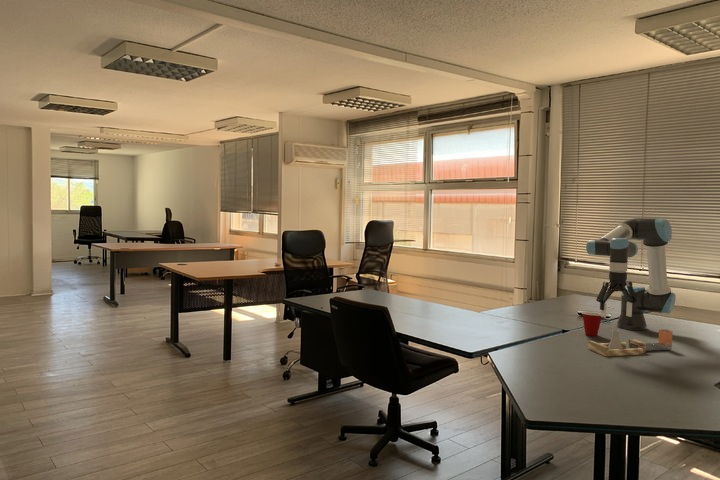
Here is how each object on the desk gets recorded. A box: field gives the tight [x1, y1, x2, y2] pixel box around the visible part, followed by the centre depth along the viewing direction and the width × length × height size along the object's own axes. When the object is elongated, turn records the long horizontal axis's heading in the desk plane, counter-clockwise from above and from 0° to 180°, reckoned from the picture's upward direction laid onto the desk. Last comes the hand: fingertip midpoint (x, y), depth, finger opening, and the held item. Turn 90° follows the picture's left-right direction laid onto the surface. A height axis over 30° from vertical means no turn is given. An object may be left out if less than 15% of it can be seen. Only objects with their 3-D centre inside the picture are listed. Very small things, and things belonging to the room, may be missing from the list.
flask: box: [608, 329, 623, 350], centre depth 254 cm, size 7×7×10 cm
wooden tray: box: [587, 338, 647, 357], centre depth 255 cm, size 23×12×4 cm, turn 102°
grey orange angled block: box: [628, 329, 673, 352], centre depth 258 cm, size 20×4×9 cm, turn 102°
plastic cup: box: [581, 311, 603, 337], centre depth 288 cm, size 11×11×12 cm
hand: (616, 316), depth 254 cm, fingers open, 13 cm apart
